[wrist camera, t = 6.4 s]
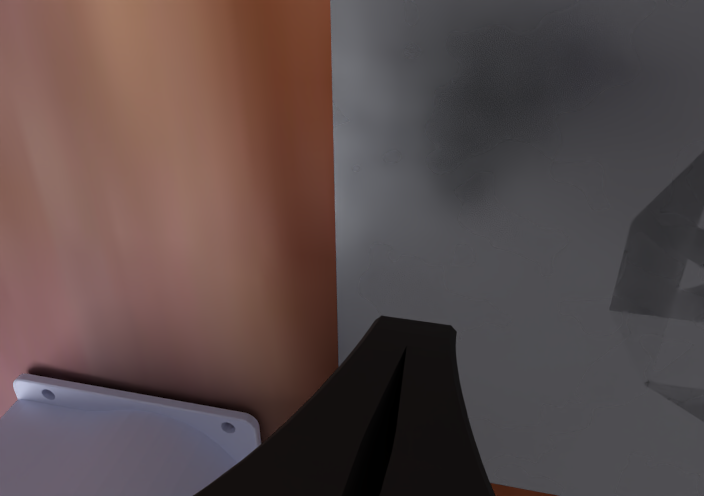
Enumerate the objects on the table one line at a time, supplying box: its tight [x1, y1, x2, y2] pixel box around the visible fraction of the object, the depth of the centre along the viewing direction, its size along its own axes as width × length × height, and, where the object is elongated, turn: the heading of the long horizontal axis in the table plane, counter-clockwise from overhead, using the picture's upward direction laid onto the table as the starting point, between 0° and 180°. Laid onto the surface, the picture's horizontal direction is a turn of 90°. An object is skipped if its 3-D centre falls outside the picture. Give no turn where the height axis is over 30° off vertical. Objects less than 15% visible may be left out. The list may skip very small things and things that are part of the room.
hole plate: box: [330, 0, 704, 496], centre depth 15 cm, size 15×15×2 cm
